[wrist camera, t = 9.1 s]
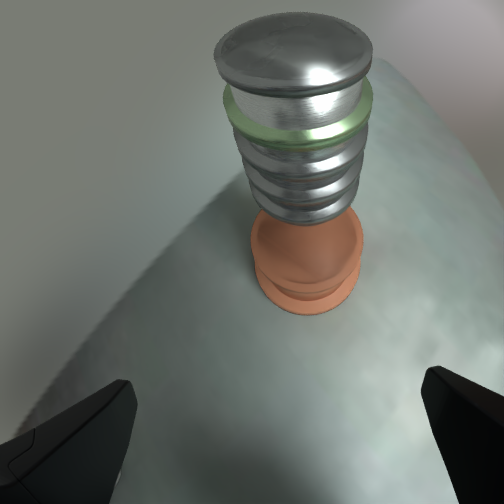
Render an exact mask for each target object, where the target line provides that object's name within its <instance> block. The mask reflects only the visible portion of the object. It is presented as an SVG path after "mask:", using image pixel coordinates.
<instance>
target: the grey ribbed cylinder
mask: <svg viewBox="0 0 504 504" xmlns="http://www.w3.org/2000/svg"><path fill="white" fill-rule="evenodd" d="M372 51H373V48H372V44H371V41H370V39H369V38H368V36H367V35H366V34H365V33H364V32H362V31H361V30H360V29H359V28H357V27H356V26H354V25H352V24H350V23H349V22H346V21H344V20H342V19H338V18H335V17H332V16H328V15H323V14H317V13H308V12H289V13H279V14H272V15H267V16H263V17H259V18H256V19H253V20H250V21H247V22H245V23H243V24H241V25H239V26H237V27H235V28H233V29H232V30H230V31H229V32H228V33H227V34H225V35H224V36H223V37H222V38H221V39H220V41H219V42H218V43H217V45H216V47H215V50H214V60H215V63H216V66H217V69H218V72H219V74H220V76H221V77H222V79H224V80H225V81H226V82H227V85H226V87H225V90H224V93H223V104H224V107H225V109H226V113H227V116H228V119H229V121H230V123H231V125H232V126H233V132H234V137H235V140H236V143H237V147H238V150H239V152H240V154H241V155H242V162H243V165H244V168H245V171H246V175H247V177H248V179H249V184H250V187H251V190H252V193H253V196H254V198H255V200H256V202H257V203H258V205H259V206H260V207H261V208H262V209H263V211H265V212H266V213H267V214H268V215H270V216H271V217H273V218H275V219H277V220H279V221H281V222H284V223H287V224H291V225H295V226H304V227H306V226H315V225H319V224H323V223H325V222H328V221H330V220H333V219H335V218H336V217H338V216H339V215H341V214H342V213H343V212H345V211H346V210H347V208H348V207H349V206H350V205H351V203H352V202H353V200H354V198H355V196H356V193H357V190H358V185H359V178H360V173H361V169H362V164H363V157H364V149H365V145H366V141H367V135H368V120H369V117H370V114H371V109H372V101H373V92H372V87H371V85H370V82H369V81H368V79H367V77H366V76H365V75H366V74H367V73H368V71H369V70H370V67H371V64H372Z"/></svg>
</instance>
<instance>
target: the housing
mask: <svg viewBox="0 0 504 504" xmlns="http://www.w3.org/2000/svg"><path fill="white" fill-rule="evenodd" d="M362 248H363V231H362V227H361V223H360V221H359V219H358V217H357V215H356V213H355V212H354V210H353V209H352V208H351V207H350V206H349V207H348V208H347V210H346V211H345V212H343V213H342V214H341V215H339V216H338V217H336V218H335V219H333V220H330V221H328V222H325V223H323V224H319V225H315V226H306V227H304V226H295V225H291V224H287V223H284V222H281V221H279V220H277V219H275V218H273V217H271V216H270V215H268V214H267V213H266V212H265V211H263V209H261V211H260V212H259V214H258V215H257V217H256V219H255V221H254V223H253V227H252V231H251V249H252V253H253V256H254V259H255V271H256V275H257V279H258V281H259V283H260V286H261V288H262V289H263V291H264V293H265V294H266V296H267V297H268V298H269V299H270V300H271V301H272V302H273V303H274V304H275V305H277V306H278V307H280V308H281V309H283V310H285V311H287V312H290V313H293V314H298V315H317V314H322V313H325V312H328V311H330V310H332V309H334V308H335V307H337V306H338V305H340V304H341V303H342V302H343V301H344V300H345V299H346V298H347V297H348V296H349V294H350V293H351V291H352V290H353V288H354V285H355V283H356V281H357V279H358V276H359V271H360V256H361V252H362Z"/></svg>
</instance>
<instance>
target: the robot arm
mask: <svg viewBox="0 0 504 504" xmlns="http://www.w3.org/2000/svg"><path fill="white" fill-rule="evenodd" d="M421 396H422V399H423V402H424V406H425V409H426V412H427V416H428V419H429V423H430V426H431V429H432V433H433V435H434V438H435V440H436V443H437V445H438V448H439V450H440V453H441V455H442V458H443V461H444V463H445V466H446V469H447V471H448V474H449V477H450V479H451V482H452V485H453V488H454V491H455V493H456V496H457V499H458V502H459V504H504V396H502V395H500V394H498V393H496V392H493V391H491V390H489V389H487V388H485V387H483V386H481V385H479V384H477V383H475V382H473V381H470V380H468V379H466V378H464V377H462V376H460V375H458V374H456V373H454V372H452V371H450V370H448V369H446V368H444V367H442V366H434V367H429V368H428V369H427V370H426V373H425V377H424V380H423V384H422V387H421ZM137 405H138V404H137V399H136V395H135V392H134V389H133V386H132V384H131V382H130V381H128V380H121V379H118V380H115V381H114V382H112V383H110V384H109V385H107V386H106V387H104V388H102V389H100V390H99V391H97V392H95V393H94V394H92V395H90V396H89V397H87V398H85V399H84V400H82V401H80V402H79V403H77V404H75V405H73V406H72V407H70V408H68V409H66V410H65V411H63V412H61V413H60V414H58V415H56V416H54V417H53V418H51V419H49V420H47V421H45V422H44V423H42V424H40V425H38V426H37V427H36V428H33V429H31V430H29V431H28V432H26V433H24V434H22V435H20V436H18V437H16V438H14V439H12V440H10V441H8V442H5V443H3V444H1V445H0V504H109V502H110V499H111V496H112V493H113V490H114V487H115V484H116V481H117V478H118V475H119V472H120V469H121V466H122V463H123V461H124V458H125V455H126V452H127V449H128V446H129V442H130V437H131V433H132V428H133V424H134V419H135V415H136V411H137Z"/></svg>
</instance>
